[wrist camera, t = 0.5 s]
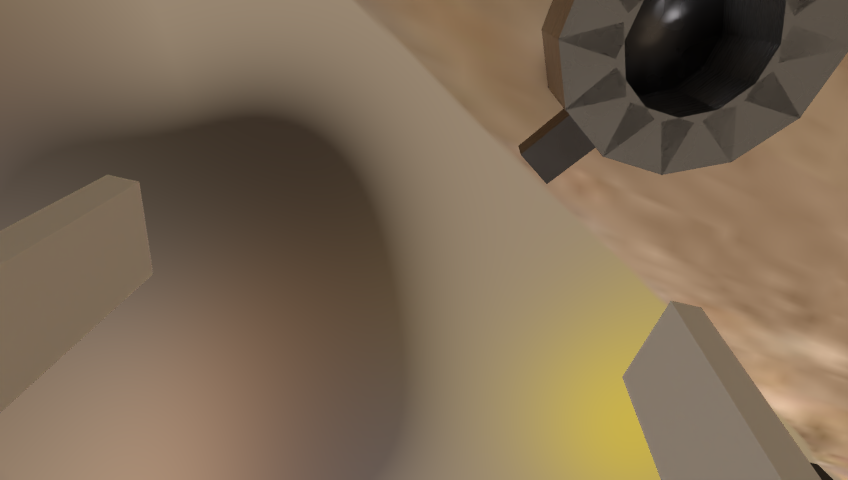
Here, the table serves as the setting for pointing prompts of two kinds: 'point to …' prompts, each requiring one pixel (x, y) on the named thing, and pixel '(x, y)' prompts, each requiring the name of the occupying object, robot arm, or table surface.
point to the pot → (680, 78)
